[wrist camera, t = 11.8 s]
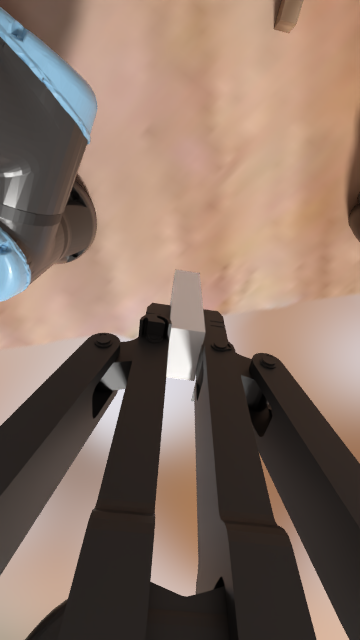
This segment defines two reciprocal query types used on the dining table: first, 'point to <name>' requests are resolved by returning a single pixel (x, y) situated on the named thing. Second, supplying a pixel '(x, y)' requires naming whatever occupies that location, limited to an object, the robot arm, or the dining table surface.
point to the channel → (288, 15)
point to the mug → (355, 219)
